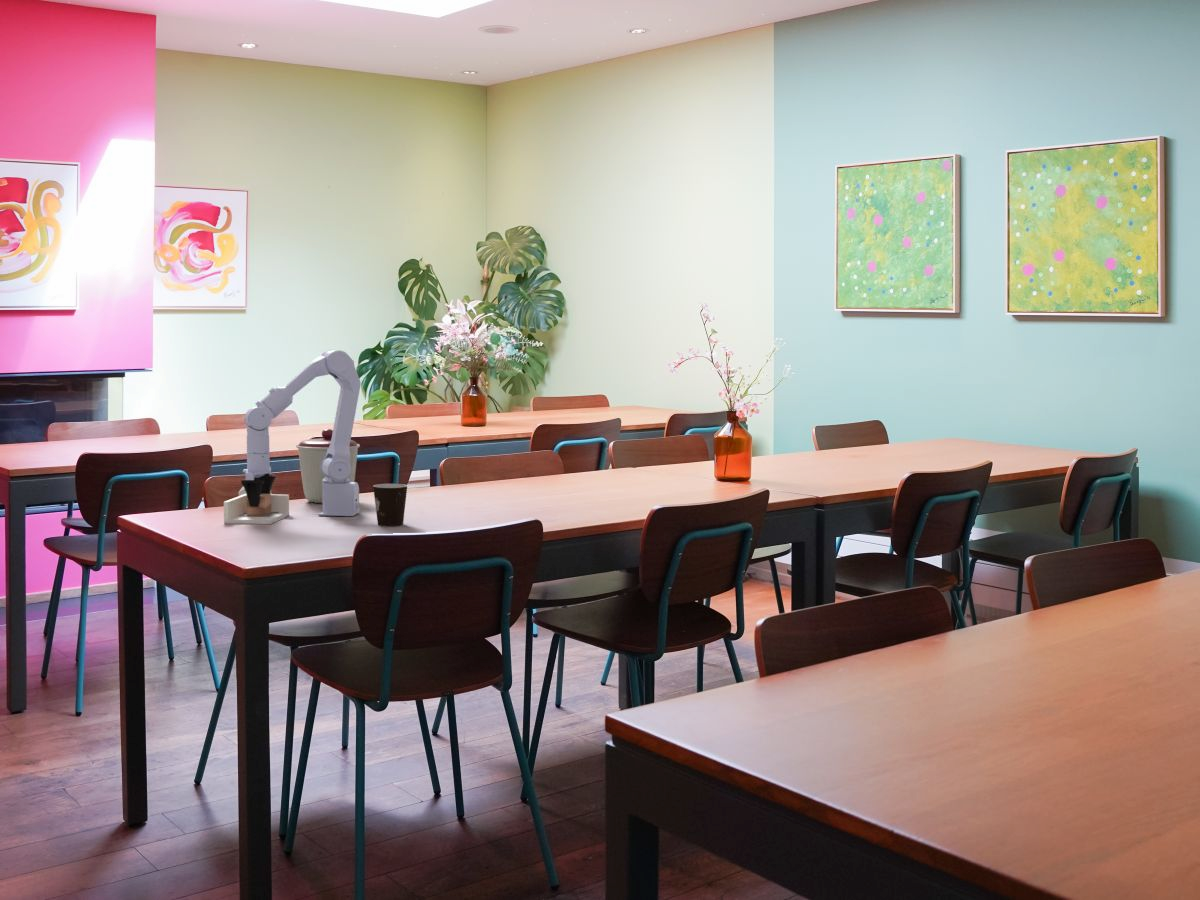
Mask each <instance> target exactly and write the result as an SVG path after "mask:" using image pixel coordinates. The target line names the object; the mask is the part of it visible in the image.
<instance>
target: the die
mask: <svg viewBox="0 0 1200 900" xmlns="http://www.w3.org/2000/svg"><path fill="white" fill-rule="evenodd" d="M237 493H238V496H241V495H243V494H247V493H246V491H245V488H244V487H243V486H242V487H241V488H240V490H239V491H238V492H237ZM270 494H273V493H272V490H271V491H270Z"/></svg>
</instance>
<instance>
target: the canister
mask: <svg viewBox="0 0 1200 900" xmlns="http://www.w3.org/2000/svg"><path fill="white" fill-rule="evenodd" d="M332 433H333V429H332V428H324V429H323V430H322V432H321V437H322V438H321V437H319V438H310V439H305V440H302V441H300V442H299V443H298V444H296V445H295V448H297V449H298V457H299V467H300V474H301V483H302V488H303V489H302V490H303V494H304V497H305V499H306V500H307V501H308V502H309V503H313V502H314V503H313V504H323V487H322V482H323V481H322V480H323V479H324V477H325V475H324V474H323V473H322V471H321V463H322V461H323V459H324V458H325V457H326V454H327V450H328V448H329V446H330V444H331V438H332ZM360 447H361V445H360V443H357V441H355V440H353V439H351V440H350V445H349V450H350V465H351V474H350V476H349V477H348V478H349V479H350V482H355V480H356V471H357V470H356V469H357V460H358V459H357V458H358V450H359V449H358V448H360Z"/></svg>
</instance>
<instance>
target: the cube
mask: <svg viewBox="0 0 1200 900" xmlns="http://www.w3.org/2000/svg"><path fill="white" fill-rule="evenodd" d="M246 507H247V515H267V514H269V513H271V494H260V502H259V506H258V507H250V505H249V501H248V497H247V496H246Z"/></svg>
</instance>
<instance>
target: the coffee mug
mask: <svg viewBox="0 0 1200 900" xmlns="http://www.w3.org/2000/svg"><path fill="white" fill-rule="evenodd" d="M372 486H373V495H374V496H373V497H374V503H375V504H374V505H375V512H376V521H377V525H378V526H379V527H401V526H403V525H404V521H405V520H404V519H405V518H404V517H405V508H406V500H407V493H408V492H407V491H408V485H407V484H402V483H381V484H379V483H378V484H374V485H372Z"/></svg>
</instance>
